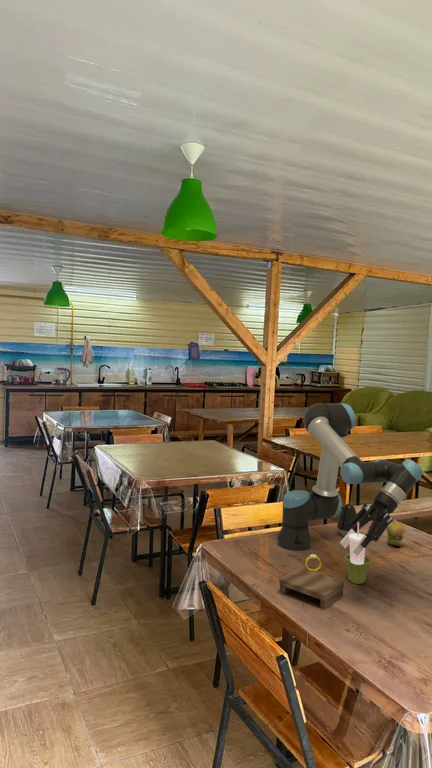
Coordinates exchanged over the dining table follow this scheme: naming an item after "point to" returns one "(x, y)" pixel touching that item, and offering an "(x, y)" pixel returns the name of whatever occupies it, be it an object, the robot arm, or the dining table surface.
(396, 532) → the hamburger
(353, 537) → the beverage cup
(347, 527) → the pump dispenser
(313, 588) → the walnut shelf
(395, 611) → the dining table surface
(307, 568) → the watch
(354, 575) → the plant pot
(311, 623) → the dining table surface
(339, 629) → the dining table surface
